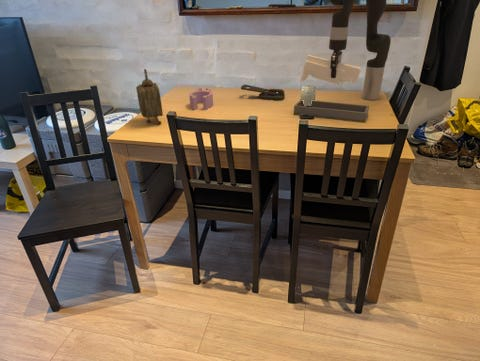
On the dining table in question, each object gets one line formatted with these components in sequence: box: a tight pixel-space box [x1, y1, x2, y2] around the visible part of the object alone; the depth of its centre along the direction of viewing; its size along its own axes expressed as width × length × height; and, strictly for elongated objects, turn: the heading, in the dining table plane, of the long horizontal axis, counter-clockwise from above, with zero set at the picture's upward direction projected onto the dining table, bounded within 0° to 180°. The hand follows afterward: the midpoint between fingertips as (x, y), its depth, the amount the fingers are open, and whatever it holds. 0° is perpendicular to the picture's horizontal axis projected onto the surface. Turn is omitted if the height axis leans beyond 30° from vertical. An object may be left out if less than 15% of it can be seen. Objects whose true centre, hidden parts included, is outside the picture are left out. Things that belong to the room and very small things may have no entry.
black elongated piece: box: [240, 84, 286, 102], centre depth 199 cm, size 9×7×25 cm
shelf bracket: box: [300, 54, 361, 85], centre depth 164 cm, size 6×25×13 cm, turn 71°
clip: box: [188, 87, 214, 111], centre depth 191 cm, size 20×12×7 cm, turn 178°
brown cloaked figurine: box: [135, 68, 164, 125], centre depth 164 cm, size 14×9×25 cm, turn 21°
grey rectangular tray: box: [293, 98, 370, 124], centre depth 171 cm, size 12×34×4 cm, turn 66°
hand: (334, 76), depth 163 cm, fingers closed on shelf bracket, 5 cm apart
